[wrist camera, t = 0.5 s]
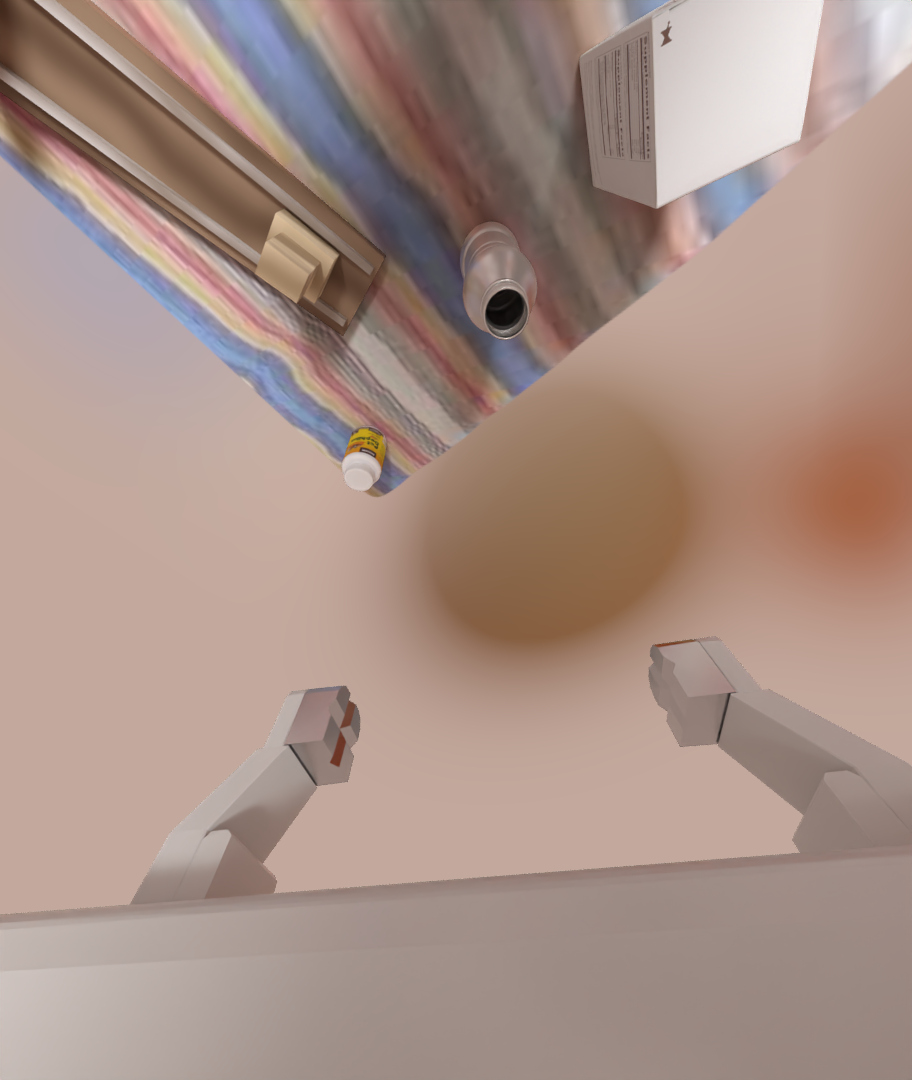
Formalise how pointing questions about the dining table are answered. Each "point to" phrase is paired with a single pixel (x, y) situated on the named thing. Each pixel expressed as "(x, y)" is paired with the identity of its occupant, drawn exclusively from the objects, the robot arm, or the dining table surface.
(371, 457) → the supplement bottle
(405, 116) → the dining table surface
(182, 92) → the rail board
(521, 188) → the dining table surface
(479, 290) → the plastic bottle
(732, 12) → the supplement box
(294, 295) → the block
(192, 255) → the dining table surface
